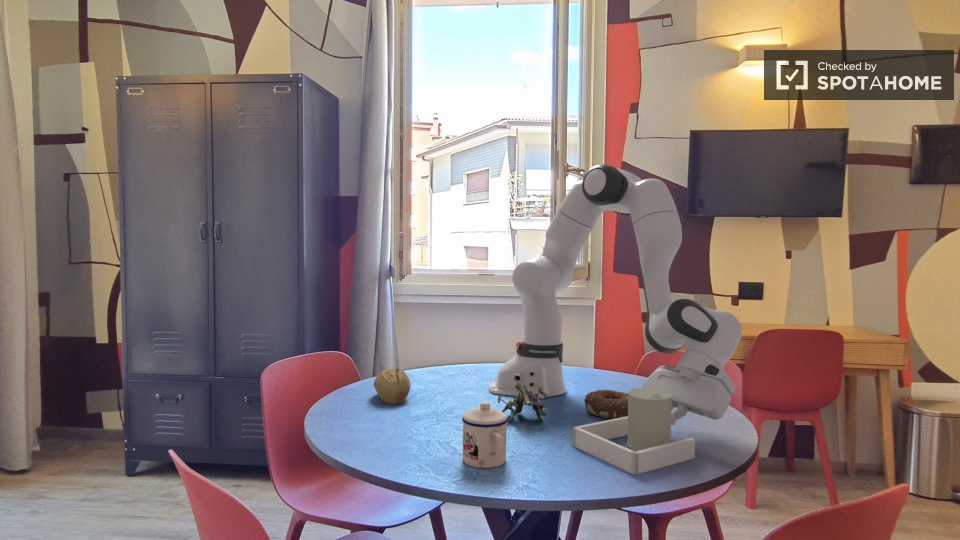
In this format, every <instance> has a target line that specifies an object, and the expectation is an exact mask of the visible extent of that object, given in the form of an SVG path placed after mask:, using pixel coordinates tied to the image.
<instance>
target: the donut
mask: <svg viewBox="0 0 960 540" xmlns="http://www.w3.org/2000/svg"><path fill="white" fill-rule="evenodd" d="M583 401H584V407H585V409H586V410H587V411H588V412H589V413H590V414H592V415H594V416H597V417H601V418H606V419H616V418H621V417H626V416H628V392H627V393H626V392H624V391H616V390H614V389H613V390H612V389H611V390H609V389H598V390H595V391H591V392H590V391H589V392H588V393H587V394H586V395H585V398H584V400H583Z"/></svg>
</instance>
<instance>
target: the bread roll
mask: <svg viewBox="0 0 960 540" xmlns="http://www.w3.org/2000/svg"><path fill="white" fill-rule="evenodd" d="M373 386H374V389H375V391H376V393H377V395H378V396H379V398H380V399H381V400H382V401H383V402H384V403H385V404H388V405H391V406H392V405H393V406H394V405H395V406H396V405H399V404H401V403H403V402H405V400H406V399H407V397H408V395H409V393H410V390H411V382H410V378H409V377H408V375H407V373H405V371H403V370H401V369H399V368H397V369H396V370H395V369H393V368H391V369H386V370H382V371H380V372H379V373H377V375H376V377H375V379H374V381H373Z"/></svg>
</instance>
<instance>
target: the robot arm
mask: <svg viewBox="0 0 960 540" xmlns="http://www.w3.org/2000/svg"><path fill="white" fill-rule="evenodd" d="M606 211H611V212H612V213H616V214H621V215H625V216H630V217H631V222H632V225H633V226H632V227H633V230H634V234H635V239H636V245H637V249H638V255H639V263H640V273H641V280H642V286H643V287H642V288H643V292H644V300H645V306H646V314H647V317H646V322H645V326H644V328H645V329H644V333H645V338H646V341H647V342H648V344H649V345H650V346H651V347H652V348H653V349H654V350H656V351H658V352H660V353H662V354H666V355H667V354H670V355H671V354H675V353H677V352H679V351H680V350H681V349H682V348H685V349H686V350H685V352H684V354H682V357H681V358H680V360H679V361H678V362H677V365H676V366H670V365H667V364H665V365H662V366H658V367H657V368H656V369H655V370H654V371H653V372H652V373H651V374H650V375H649V376H648V378H647V379H646V380H645V381H644V382H643V384H642V386H641V388H648V389H657V390H662V391H666V392H668V393H670V394H671V395H672V406H671V411H673V410H674V408H676V410H674V411H673V412H671V426H674V425H675V424H676V422H677V421H678V420H680V419H681V418H683V417H685V416H686V415H687V413H688V412H689V413H692V414H694V415H695V414H696V415H699V416H701V417H704V418H709V419H712V420H714V421H716V420H717V421H718V420H719V419H721V418H723V416H724V415H725V413H726V411H727V410H728V407H729V405H730V404H731V400H732V396H731V395H733V394H734V393H736V389H737V388H736V387H735V385H734V383H733V381H732V380H731V378H730V376H728V374H727V373H726V372H725V371H724V366H725V364H726V363H727V362H728V361H730V359H731V358H732V356H733V355H734V353H735V351H736V349H737V347H738V345H739V343H740V341H741V338H742V334H743V328H742V323H741V322H740V320H739V319H738V317H737V316H735V315H734V314H732V313H731V312H730V311H728V310H725V309H712V308H708V307H706V306H703V305H701V304H700V303H697V302H696V301H695V300H692V299H689V298H680V299H677V300H674V301H673V299H672V294H671V287H670V282H669V281H670V280H669V277H670V275H669V273H670V269H671V265H672V263H673V261H674V258H675V257H676V254H677V253H678V251H679V250H680V249H679V248H681V244H682V241H683V231H682V223H681V220H680V215H679V212H678V209H677V206H676V203H675V201H674V198H673V196H672V194H671V192H670V190H669V188H668V186H667V185H666V184H665V182H664V181H662V180H661V179H659V178H653V177H652V178H646V179H645V178H642V177H640V176H637V174H634V173H632V172H630V171H629V170H626V169H621V168H617V167H615V166H614V165H609V164H602V163H601V164H595V165H593V166H592V167H590V168H589V169H588V170H587V171H586V173H585V174H584V176H583V179H582V180H578V181H576V183H575V184H574V185H573V186H572V187H571V189H570V190H569V191H568V193H567V194H566V195H565V196H564V198H563V200H562V201H561V204H560V205H559V207H558V209H557V211H556V213H555V214H554V216H553V218H552V220H551V222H550V223H549V226H548V227H547V229H546V231H545V243H544V247H543V250H542V252H541V255H540V256H539V257H531V258H528V259H526V260H524V261H522V262H520V263H519V264H518V265H516V266H515V268H514V270H513V272H512V277H511V278H512V284H513V286H514V288H515V289H516V291H517V292H518V294H519V298H520V302H521V303H520V304H521V306H522V307H521V308H522V313H523V341H522V340H518V341H517V342H516V343H515V346H516V354H515V355H514V356H513V357H511V358H510V359H508V360H507V361H506V362H504V363H503V364H502V365H501V366H499V367H500V368H499V369H498V371H497V376H496V379H495V380H492V382H490V384H489V386H488V390H489V392H490V393H491V394H495V395H504V396H511V397H513V396H514V397H516V396H517V397H518V393H519V392H518V390H517V389H516V388H515V384H517V382H519V383H520V384H521V386H523V384H524V385H526V387H527V388H528V389H531V391H532V392H533V393H534V394H537V393H538V392H539V390H538V388H537V385H538V386H540V387H541V388H542V389H543V390H544V392H545V393H546V395H547V397H545V396H544V395H543V394H539V395H538V397H539V398H538V399H546V398H549V397H555V396H560V395H564V394H566V392H567V388H566V385H565V381H564V380H565V379H564V373H563V372H564V371H563V362H564V344H563V342H562V341H563V339H562V335H563V316H562V313H561V312H560V310H559V307H558V302H557V296H556V294H559V293H561V292H563V291H564V290H565V289H567V288H568V287H569V286H570V285H571V284H572V281H573V279H574V278H573V277H574V270H575V266H576V264H577V261H578V257H579V255H580V252H581V250H582V248H583V247H584V245H585V243H586V241H587V239H588V237H590V236H589V235H590V234H591V232H592V230H593V228H594V227H595V224H596V223H597V220H598V219H599V218H600V216H601V215H602V213H604V212H606Z"/></svg>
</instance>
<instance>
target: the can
mask: <svg viewBox="0 0 960 540" xmlns="http://www.w3.org/2000/svg"><path fill="white" fill-rule="evenodd" d="M627 393H628V435H627V442H626V446H627V447H628V449H630V450H632V451H635V452H636V451H640V450H644V449H648V448H652V447H656V446H660V445H664V444H668V443H672V441H671V439H672V437H671V436H672V433H671V431H672V425H671V414H672V410H671V406H672V395H671V394H670V393H668V392H666V391H662V390H657V389H648V388H642V387H641V388H633V389H630V390H629V391H628V392H627Z"/></svg>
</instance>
